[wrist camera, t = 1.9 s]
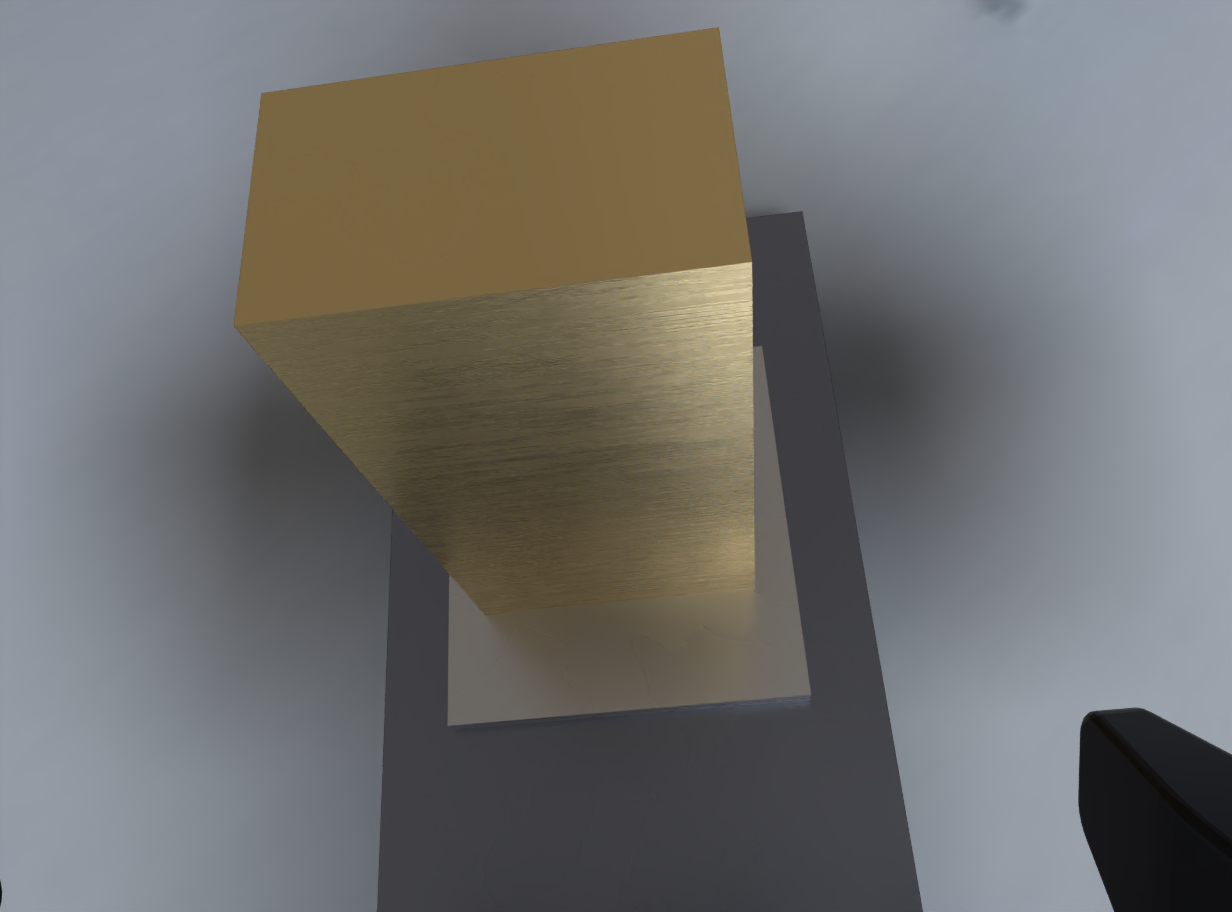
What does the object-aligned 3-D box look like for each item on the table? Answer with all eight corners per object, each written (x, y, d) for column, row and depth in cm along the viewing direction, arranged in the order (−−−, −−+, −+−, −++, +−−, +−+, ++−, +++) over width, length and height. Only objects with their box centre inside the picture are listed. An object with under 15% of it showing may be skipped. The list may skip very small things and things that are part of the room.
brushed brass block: (754, 588, 18) (752, 262, 9) (484, 613, 19) (233, 325, 10) (736, 439, 20) (718, 27, 11) (483, 467, 20) (260, 93, 11)
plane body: (1067, 1915, 13) (1309, 2686, 8) (400, 1903, 14) (149, 2591, 8) (791, 237, 25) (802, 24, 19) (434, 281, 26) (339, 91, 20)
